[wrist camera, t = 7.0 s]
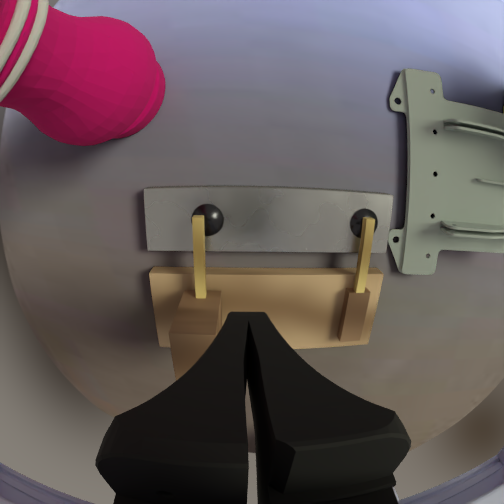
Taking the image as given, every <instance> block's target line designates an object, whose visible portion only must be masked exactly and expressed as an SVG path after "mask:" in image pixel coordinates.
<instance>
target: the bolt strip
mask: <svg viewBox="0 0 504 504" xmlns="http://www.w3.org/2000/svg"><path fill="white" fill-rule="evenodd" d="M392 203H393V195H390V194H387V193H378V192H366V191H353V190H339V189H323V188H304V187H278V186H163V187H147V188H145V189H144V206H145V223H146V236H147V248H148V251H193V229H192V217H193V216H194V215H204V235H205V251H245V252H350V253H359V247H360V240H361V231H362V223H363V217H369V218H373V219H375V226H374V234H373V241H372V248H371V253H386V249H387V242H388V235H389V228H390V221H391V212H392Z"/></svg>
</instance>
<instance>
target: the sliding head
mask: <svg viewBox="0 0 504 504" xmlns="http://www.w3.org/2000/svg"><path fill="white" fill-rule="evenodd" d="M192 229H193V255H194V275H195V290H184V293H183V296H182V298H181V301H180V303H179V306H178V309H177V311H176V314H175V317H174V319H173V322H172V325H171V328H170V330H169V333H168V334H169V341H170V347H171V353H172V359H173V365H174V371H175V377H176V381H177V380H178V379H179V378H180V377H181V376H182V375H184V374H185V373H186V372H187V371H188V370H189V369H190V368H191V367H192V366H193V365H194V364H195V363H196V362H197V361H198V360H199V358H200V357H201V356H202V355H203V354H204V352H205V351H206V350H207V349H208V347H209V346H210V345H211V343H212V342H213V340H214V339H215V337H216V336H217V334H218V333H219V331H220V330H221V328H222V297H221V291H207V290H206V267H205V235H204V215H194V216H193V217H192Z"/></svg>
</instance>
